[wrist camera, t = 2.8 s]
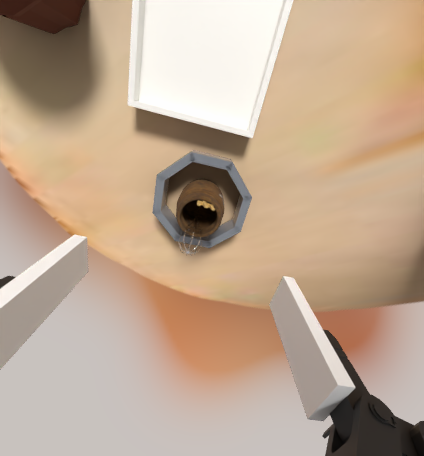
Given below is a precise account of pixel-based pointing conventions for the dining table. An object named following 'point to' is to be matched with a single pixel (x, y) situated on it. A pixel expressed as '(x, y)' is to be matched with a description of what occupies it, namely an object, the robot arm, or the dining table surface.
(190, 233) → the utensil holder
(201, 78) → the tray
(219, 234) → the grey octagonal ring
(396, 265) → the dining table surface
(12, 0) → the muffin
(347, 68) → the dining table surface
